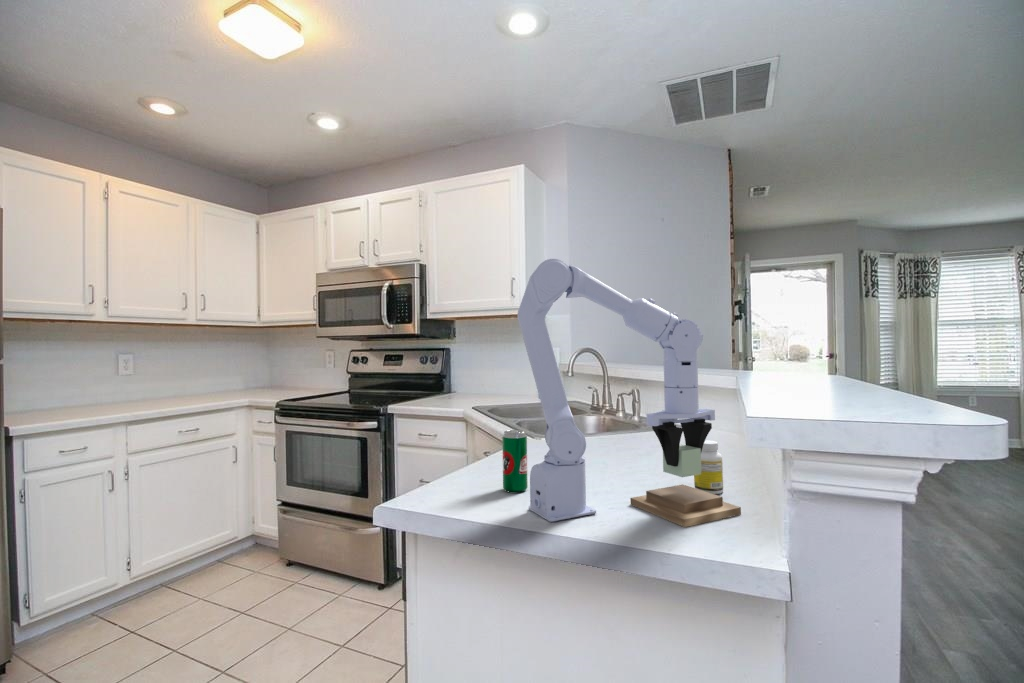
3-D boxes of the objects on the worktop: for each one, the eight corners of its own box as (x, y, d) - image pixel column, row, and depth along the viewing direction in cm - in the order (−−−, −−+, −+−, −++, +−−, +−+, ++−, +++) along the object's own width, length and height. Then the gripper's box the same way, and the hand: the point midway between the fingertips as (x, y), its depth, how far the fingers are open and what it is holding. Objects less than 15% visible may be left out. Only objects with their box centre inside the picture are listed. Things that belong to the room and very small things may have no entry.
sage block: (682, 477, 81) (681, 451, 81) (663, 471, 85) (662, 446, 85) (701, 474, 83) (700, 448, 83) (681, 468, 87) (681, 444, 87)
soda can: (525, 494, 94) (524, 433, 94) (500, 493, 95) (499, 433, 95) (529, 487, 99) (528, 429, 99) (505, 486, 100) (505, 429, 100)
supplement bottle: (698, 485, 98) (696, 438, 98) (726, 489, 95) (724, 441, 95) (691, 492, 94) (690, 442, 94) (720, 496, 91) (719, 445, 91)
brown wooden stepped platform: (684, 527, 75) (684, 510, 75) (630, 504, 86) (630, 489, 86) (740, 514, 80) (740, 498, 80) (682, 494, 92) (682, 480, 92)
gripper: (693, 384, 91) (694, 455, 90) (634, 387, 84) (635, 463, 84) (723, 386, 84) (725, 462, 84) (662, 389, 78) (664, 472, 78)
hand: (682, 463), depth 84 cm, fingers closed on sage block, 4 cm apart
